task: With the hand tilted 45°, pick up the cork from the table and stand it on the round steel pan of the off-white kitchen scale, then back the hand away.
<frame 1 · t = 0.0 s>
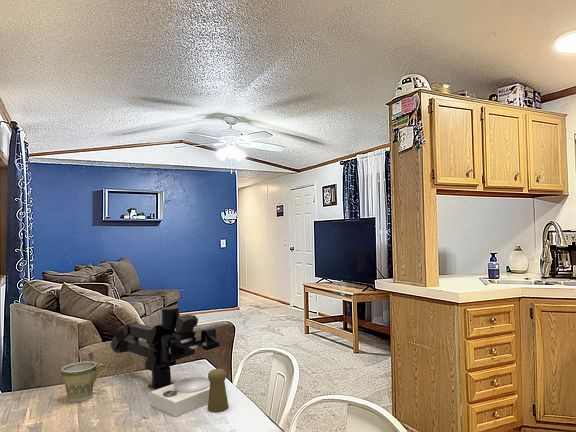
hand: (207, 348, 130), 17 cm above the table, tool horizontal, fingers open, 9 cm apart
kitchen scale: (185, 401, 132), on the table
ceramic cup: (85, 397, 139), on the table
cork: (218, 408, 127), on the table
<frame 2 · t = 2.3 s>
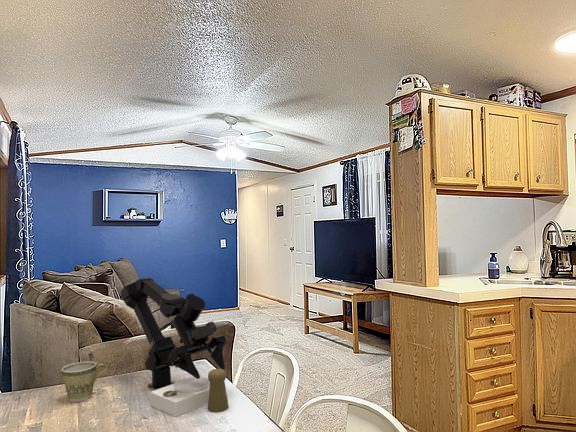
hand: (211, 373, 129), 9 cm above the table, tool tilted 45°, fingers open, 9 cm apart
nothing on the table moved.
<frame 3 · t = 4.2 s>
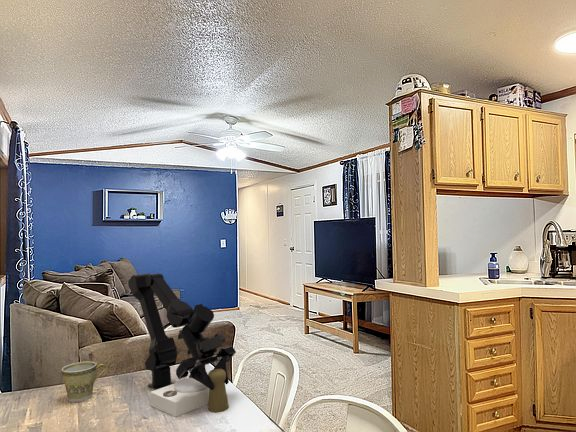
hand: (220, 386, 126), 7 cm above the table, tool tilted 45°, fingers closed on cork, 5 cm apart
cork: (218, 408, 127), on the table, touching gripper
everything else where it was.
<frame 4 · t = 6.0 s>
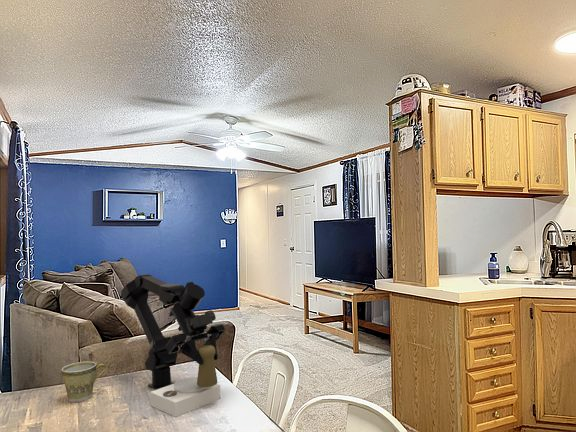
hand: (209, 361, 129), 13 cm above the table, tool tilted 45°, fingers closed on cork, 5 cm apart
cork: (207, 383, 130), point 6 cm above the table, touching gripper
everything else where it was.
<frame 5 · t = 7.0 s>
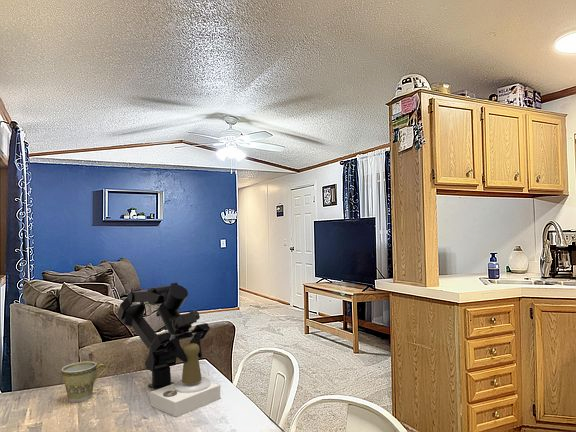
hand: (193, 359, 134), 12 cm above the table, tool tilted 45°, fingers closed on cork, 5 cm apart
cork: (191, 380, 134), point 6 cm above the table, touching gripper
everything else where it was.
when the fingers open (12 cm above the table, at t = 7.6 s): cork stays where it is, resting on kitchen scale.
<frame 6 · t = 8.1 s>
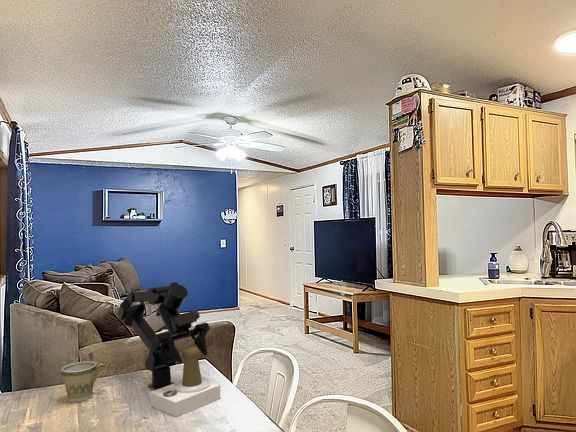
hand: (194, 358, 133), 13 cm above the table, tool tilted 45°, fingers open, 9 cm apart
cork: (192, 383, 134), point 5 cm above the table, touching kitchen scale
everything else where it was.
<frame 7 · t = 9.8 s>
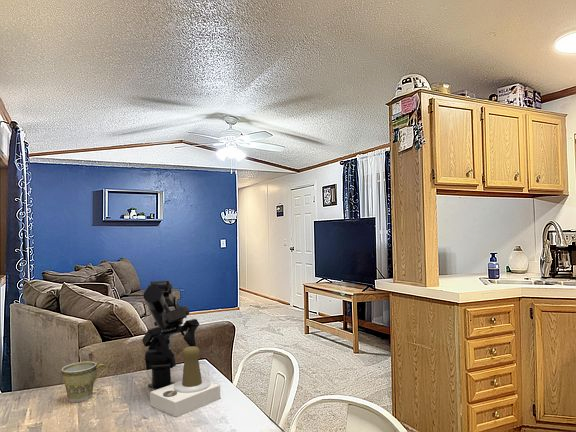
hand: (183, 353, 138), 13 cm above the table, tool tilted 45°, fingers open, 9 cm apart
nothing on the table moved.
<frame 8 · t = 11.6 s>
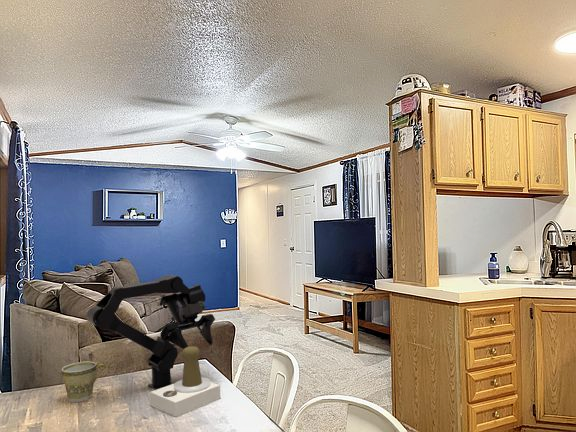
hand: (200, 347, 142), 14 cm above the table, tool tilted 45°, fingers open, 9 cm apart
nothing on the table moved.
at the end: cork 0.1 cm from the target spot on the kitchen scale, point 4.6 cm above the kitchen scale's base; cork tilted 0°; the gripper is holding nothing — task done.
